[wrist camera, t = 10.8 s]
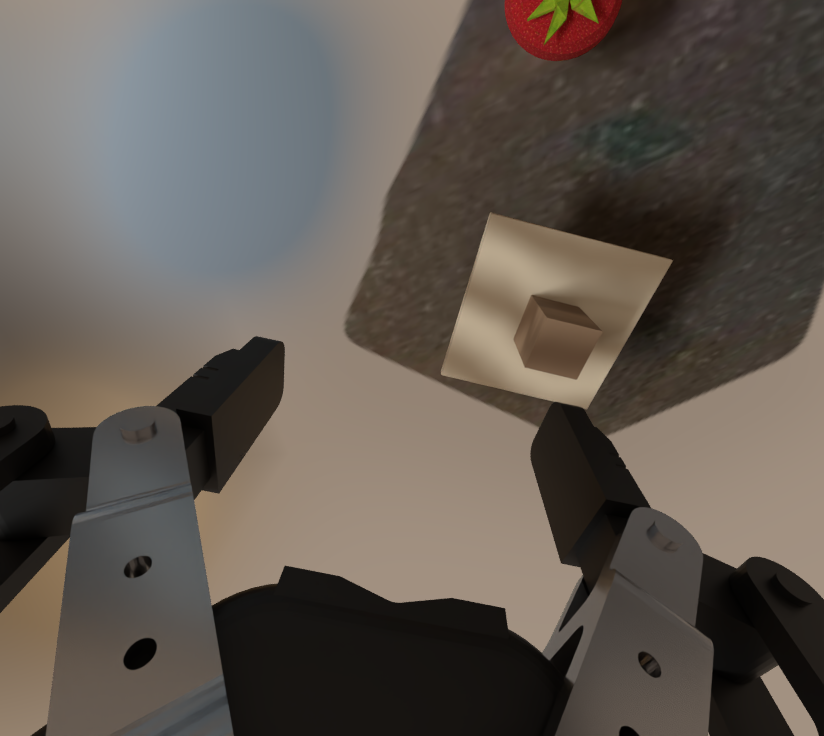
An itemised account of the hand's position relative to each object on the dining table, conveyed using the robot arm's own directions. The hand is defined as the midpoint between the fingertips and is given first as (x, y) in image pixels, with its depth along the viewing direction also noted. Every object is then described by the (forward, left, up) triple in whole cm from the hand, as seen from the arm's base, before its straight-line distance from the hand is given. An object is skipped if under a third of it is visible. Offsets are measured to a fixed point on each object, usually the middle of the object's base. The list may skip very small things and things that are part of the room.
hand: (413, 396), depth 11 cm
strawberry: (-17, +4, -30) cm, 35 cm away
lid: (+3, +11, -20) cm, 23 cm away
